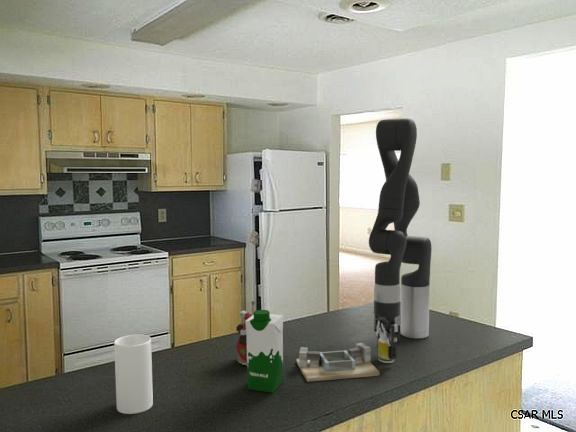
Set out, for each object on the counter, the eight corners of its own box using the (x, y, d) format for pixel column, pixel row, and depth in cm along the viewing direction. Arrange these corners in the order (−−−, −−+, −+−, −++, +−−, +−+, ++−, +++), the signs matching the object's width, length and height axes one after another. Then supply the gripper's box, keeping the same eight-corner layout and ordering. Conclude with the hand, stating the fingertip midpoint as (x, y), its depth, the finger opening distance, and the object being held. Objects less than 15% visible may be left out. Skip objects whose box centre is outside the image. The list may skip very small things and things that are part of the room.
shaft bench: (295, 362, 146) (294, 345, 145) (363, 356, 149) (363, 340, 149) (305, 381, 132) (305, 363, 131) (380, 375, 136) (381, 357, 135)
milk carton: (242, 390, 127) (241, 313, 125) (256, 376, 136) (255, 303, 134) (275, 395, 124) (274, 316, 122) (287, 380, 133) (286, 306, 131)
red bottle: (277, 358, 148) (276, 299, 147) (262, 370, 140) (261, 307, 138) (245, 353, 153) (245, 295, 151) (229, 364, 144) (228, 303, 143)
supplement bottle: (394, 364, 144) (395, 335, 143) (377, 362, 145) (378, 334, 144) (394, 357, 148) (394, 330, 148) (378, 356, 149) (378, 329, 149)
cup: (121, 398, 123) (119, 334, 121) (155, 397, 124) (153, 333, 122) (112, 414, 115) (110, 346, 113) (149, 413, 115) (147, 345, 114)
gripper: (409, 304, 139) (408, 361, 140) (389, 292, 153) (389, 344, 154) (383, 305, 137) (383, 363, 139) (366, 293, 151) (365, 346, 153)
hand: (386, 353), depth 146 cm, fingers open, 8 cm apart
